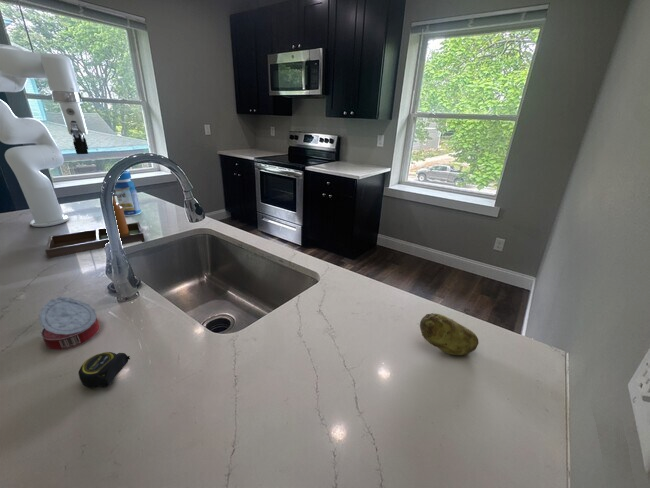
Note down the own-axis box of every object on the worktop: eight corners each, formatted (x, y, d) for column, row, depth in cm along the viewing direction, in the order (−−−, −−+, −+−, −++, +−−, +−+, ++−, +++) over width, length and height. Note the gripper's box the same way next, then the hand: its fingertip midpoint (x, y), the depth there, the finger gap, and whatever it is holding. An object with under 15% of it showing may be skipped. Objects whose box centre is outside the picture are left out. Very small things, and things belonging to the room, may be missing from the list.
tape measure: (109, 393, 56) (103, 379, 54) (73, 390, 56) (67, 376, 54) (132, 364, 62) (128, 350, 60) (100, 362, 62) (95, 348, 61)
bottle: (111, 236, 116) (98, 192, 109) (129, 233, 120) (117, 190, 112) (112, 242, 112) (98, 197, 105) (130, 238, 115) (119, 194, 108)
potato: (474, 370, 63) (484, 342, 60) (413, 349, 69) (419, 321, 65) (475, 345, 70) (484, 318, 67) (420, 327, 75) (426, 301, 72)
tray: (52, 245, 110) (49, 236, 108) (140, 230, 125) (138, 222, 124) (49, 259, 100) (45, 250, 98) (145, 241, 115) (143, 233, 114)
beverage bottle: (145, 213, 143) (135, 171, 135) (127, 218, 137) (115, 174, 128) (136, 209, 147) (125, 169, 139) (117, 214, 141) (105, 171, 132)
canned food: (90, 334, 76) (102, 297, 76) (97, 353, 69) (110, 312, 69) (29, 336, 67) (41, 294, 67) (30, 357, 60) (44, 310, 60)
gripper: (81, 99, 94) (96, 155, 101) (82, 98, 106) (95, 147, 114) (49, 98, 90) (67, 156, 97) (54, 96, 102) (70, 148, 110)
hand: (82, 151), depth 105 cm, fingers open, 9 cm apart
